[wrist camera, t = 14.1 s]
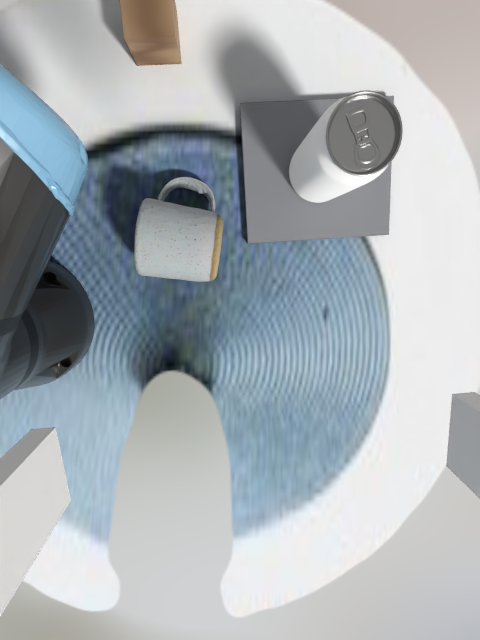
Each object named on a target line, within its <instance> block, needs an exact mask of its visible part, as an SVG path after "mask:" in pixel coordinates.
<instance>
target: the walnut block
mask: <svg viewBox="0 0 480 640" xmlns="http://www.w3.org/2000/svg"><path fill="white" fill-rule="evenodd" d="M120 8H121V17H122V25H123V34H124V39H125V41H126V43H127V46H128V48H129V50H130V52H131V54H132V56H133V58H134V61H135V63H136V65H137V66H140V65H164V64H181V54H180V43H179V31H178V20H177V10H176V5H175V0H120Z"/></svg>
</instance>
